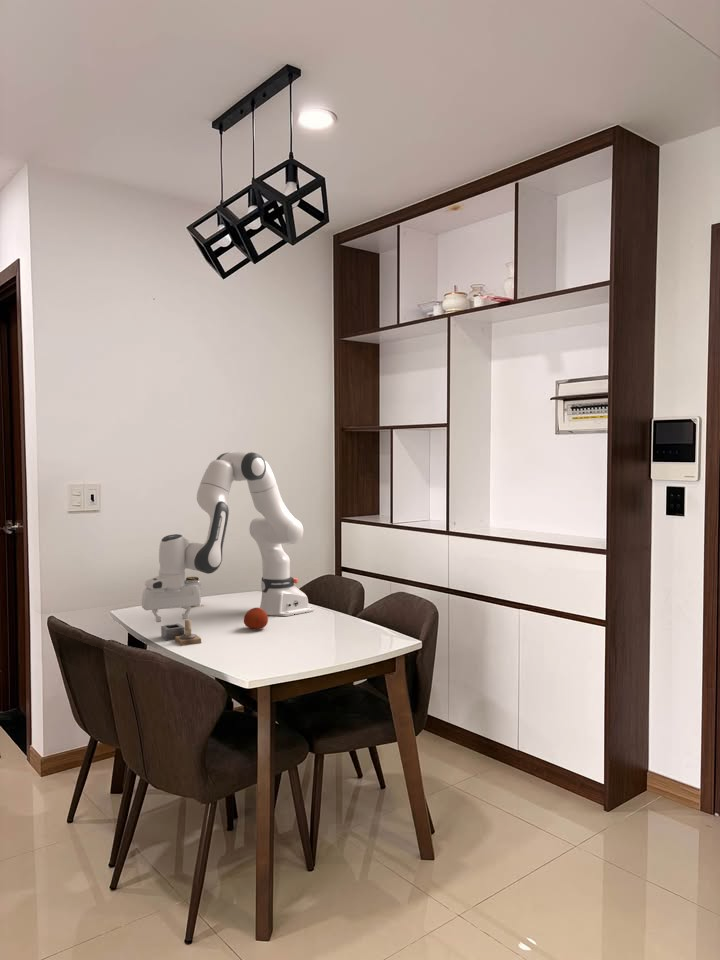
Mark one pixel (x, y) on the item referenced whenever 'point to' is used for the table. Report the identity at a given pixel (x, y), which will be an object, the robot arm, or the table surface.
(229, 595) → the table surface
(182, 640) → the post block
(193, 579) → the condiment
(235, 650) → the table surface
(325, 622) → the table surface
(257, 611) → the fruit
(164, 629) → the grey square frame
